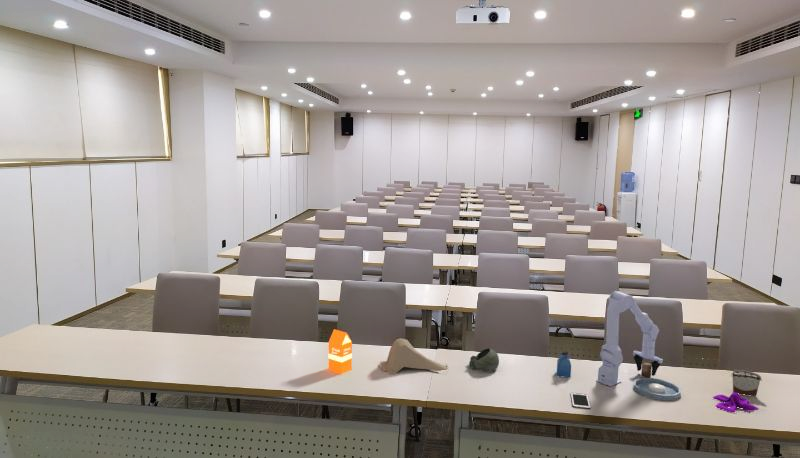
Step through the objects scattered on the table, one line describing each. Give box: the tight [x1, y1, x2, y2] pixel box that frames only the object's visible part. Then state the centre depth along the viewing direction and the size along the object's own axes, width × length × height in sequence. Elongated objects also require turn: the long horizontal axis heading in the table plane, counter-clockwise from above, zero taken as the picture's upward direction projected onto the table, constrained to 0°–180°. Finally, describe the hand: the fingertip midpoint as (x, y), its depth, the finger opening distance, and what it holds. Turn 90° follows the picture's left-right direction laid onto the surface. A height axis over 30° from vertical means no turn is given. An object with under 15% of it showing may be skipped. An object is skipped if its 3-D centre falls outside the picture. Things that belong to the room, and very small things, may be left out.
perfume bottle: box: [556, 350, 572, 378], centre depth 284 cm, size 6×6×12 cm
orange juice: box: [328, 328, 353, 375], centre depth 283 cm, size 8×9×20 cm
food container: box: [730, 369, 763, 397], centre depth 268 cm, size 12×6×10 cm, turn 71°
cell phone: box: [570, 392, 592, 410], centre depth 255 cm, size 8×15×1 cm, turn 167°
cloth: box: [712, 392, 760, 413], centre depth 254 cm, size 22×19×6 cm
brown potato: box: [640, 362, 652, 378], centre depth 286 cm, size 4×4×6 cm
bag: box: [379, 338, 449, 375], centre depth 289 cm, size 19×17×35 cm
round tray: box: [633, 377, 682, 401], centre depth 268 cm, size 20×20×2 cm
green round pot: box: [468, 347, 500, 372], centre depth 291 cm, size 15×15×10 cm
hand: (646, 372), depth 286 cm, fingers open, 7 cm apart
